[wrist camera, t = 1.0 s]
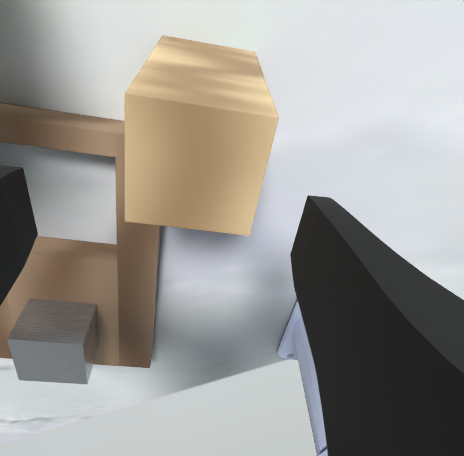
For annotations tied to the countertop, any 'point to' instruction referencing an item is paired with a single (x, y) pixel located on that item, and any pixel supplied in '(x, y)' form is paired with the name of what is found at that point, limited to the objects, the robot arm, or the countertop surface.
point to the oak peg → (197, 137)
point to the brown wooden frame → (88, 246)
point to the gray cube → (55, 341)
